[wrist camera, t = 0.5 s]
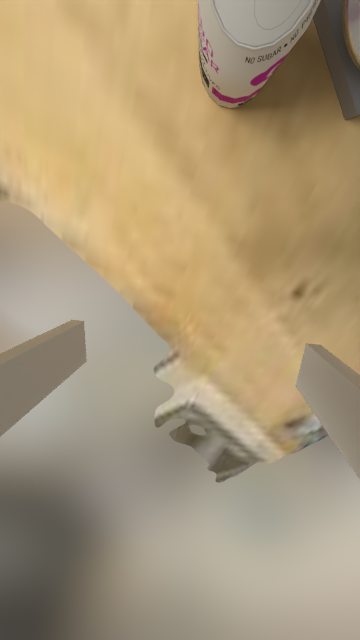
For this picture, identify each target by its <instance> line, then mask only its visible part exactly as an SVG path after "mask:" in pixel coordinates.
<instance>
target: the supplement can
mask: <svg viewBox="0 0 360 640" xmlns="http://www.w3.org/2000/svg"><path fill="white" fill-rule="evenodd" d="M320 1H321V0H198V31H199V67H200V72H201V78H202V83H203V85H204V87H205V89H206V91H207V93H208V95H209V97H210V98H212V99H213V100H214V101H215V102H216V103H217V104H218V105H220V106H224V107H227V108H234V107H239V106H243V105H244V104H246V103H247V102H248V101H250V100H251V99H253V98H254V97H255V96H256V94H257V93H258V92H259V91H260V89H261V88H262V87H263V85H264V84H265V83H266V82H267V80H268V79H269V78H270V76H271V75H272V74H273V72H274V71H275V70H276V69H277V67H278V66H279V65H280V63H281V62H282V61H283V59H284V58H285V57H286V56H287V54H288V53H289V52H290V50H291V49H292V48H293V46H294V45H295V44H296V43H297V41H298V40H299V39H300V37H301V36H302V35H303V33H304V32H305V31H306V30H307V28H308V26H309V24H310V22H311V20H312V18H313V16H314V14H315V12H316V9H317V7H318V5H319V3H320Z"/></svg>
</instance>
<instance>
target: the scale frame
mask: <svg viewBox="0 0 360 640" xmlns="http://www.w3.org/2000/svg"><path fill="white" fill-rule="evenodd" d="M342 1H343V0H321V1H320V3H319V5H318V7H317V9H316V12H315V14H314V16H313V19H314V22H315V25H316V28H317V32H318V35H319V38H320V41H321V44H322V48H323V51H324V54H325V57H326V60H327V64H328V67H329V70H330V73H331V76H332V80H333V83H334V86H335V89H336V92H337V96H338V99H339V102H340V105H341V108H342V111H343V115H344V118H345V120H347V119H350V118H353V117H357V116H358V115H360V70H359V68H358V67H357V66H356V65H355V64H354V62H353V60H352V58H351V57H350V55H349V52H348V49H347V46H346V43H345V38H344V33H343V24H342Z"/></svg>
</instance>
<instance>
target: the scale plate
mask: <svg viewBox="0 0 360 640" xmlns="http://www.w3.org/2000/svg"><path fill="white" fill-rule="evenodd" d="M342 24H343V33H344V38H345V43H346V46H347V49H348V52H349V55H350V57H351V58H352V60H353V62H354V64H355V65H356V66H357V67H358V68H359V70H360V0H343V1H342Z"/></svg>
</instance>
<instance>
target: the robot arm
mask: <svg viewBox="0 0 360 640" xmlns="http://www.w3.org/2000/svg"><path fill="white" fill-rule="evenodd" d="M85 362H86V348H85V331H84V321H78V320H77V321H76V320H71V321H69V322H67V323H65V324H62V325H60V326H58V327H56V328H54V329H52V330H50V331H48V332H46V333H43V334H41V335H39V336H37V337H35V338H33V339H31V340H29V341H26V342H24V343H22V344H20V345H18V346H16V347H14V348H12V349H10V350H7V351H5V352H3V353H1V354H0V437H1V436H2V435H3V434H4V433H5V432H6V431H7V430H8V429H10V428H11V427H12V426H13V425H14V424H15V423H16V422H18V421H19V420H20V419H21V418H22V417H23V416H24V415H25V414H27V413H28V412H29V411H30V410H31V409H32V408H34V407H35V406H36V405H37V404H38V403H39V402H41V401H42V400H43V399H44V398H45V397H46V396H47V395H49V394H50V393H51V392H52V391H53V390H54V389H55V388H57V387H58V386H59V385H60V384H61V383H62V382H63V381H65V380H66V379H67V378H68V377H69V376H70V375H71V374H73V372H75V371H76V370H77V369H78V368H79V367H81V366H82V365H83V364H84V363H85ZM296 388H297V389H298V391H299V392H300V393H301V395H302V396H303V398H304V399H305V401H306V402H307V404H308V405H309V407H310V408H311V409H312V411H313V412H314V414H315V415H316V417H317V418H318V420H319V421H320V422H321V424H322V425H323V427H324V428H325V430H326V431H327V433H328V434H329V436H330V437H331V438H332V440H333V441H334V443H335V444H336V446H337V447H338V449H339V450H340V451H341V453H342V454H343V456H344V457H345V459H346V460H347V462H348V463H349V464H350V466H351V467H352V469H353V470H354V472H355V473H356V475H357V476H358V478H359V479H360V375H359V374H358V373H356V372H355V371H354V370H352V369H351V368H350V367H348V366H347V365H346V364H345V363H343V362H342V361H341V360H339V359H338V358H337V357H336V356H334V355H333V354H332V353H330V352H329V351H328V350H326V349H325V348H324V347H323V346H321V345H316V344H306V346H305V350H304V354H303V358H302V362H301V366H300V370H299V374H298V378H297V382H296Z"/></svg>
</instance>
